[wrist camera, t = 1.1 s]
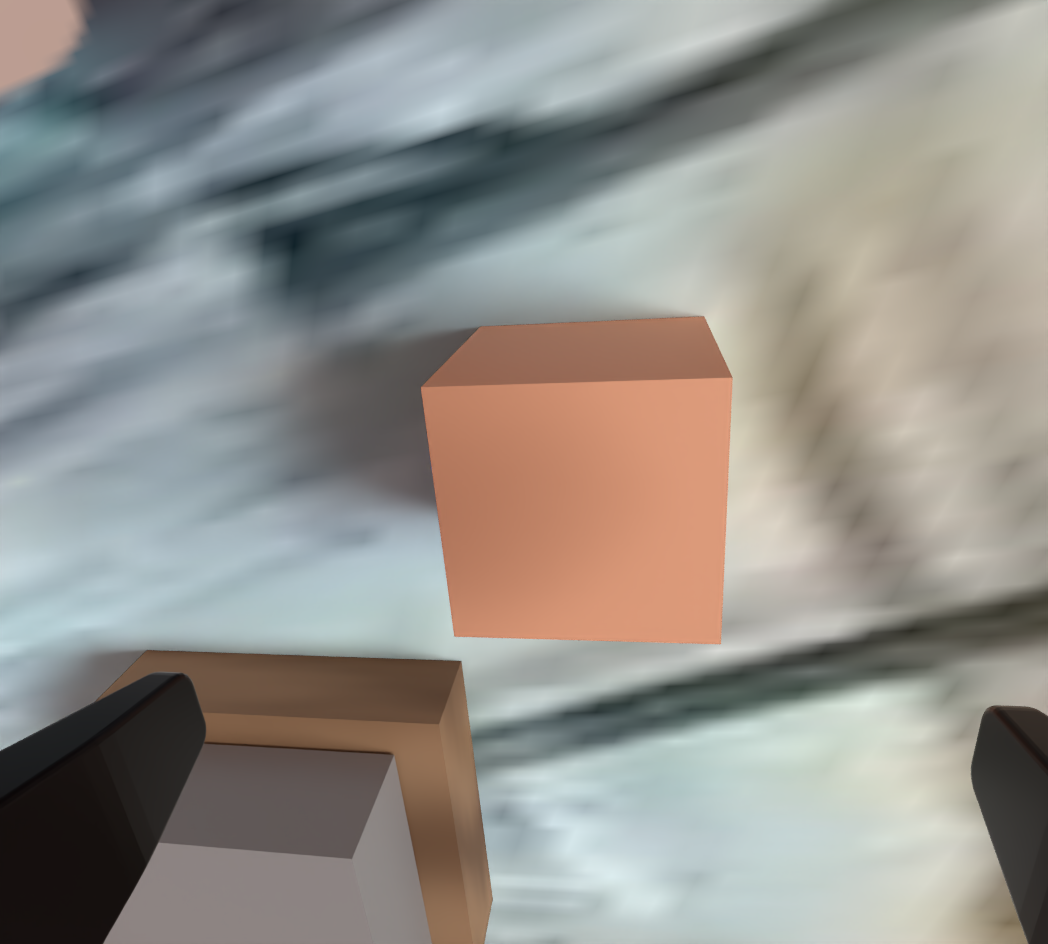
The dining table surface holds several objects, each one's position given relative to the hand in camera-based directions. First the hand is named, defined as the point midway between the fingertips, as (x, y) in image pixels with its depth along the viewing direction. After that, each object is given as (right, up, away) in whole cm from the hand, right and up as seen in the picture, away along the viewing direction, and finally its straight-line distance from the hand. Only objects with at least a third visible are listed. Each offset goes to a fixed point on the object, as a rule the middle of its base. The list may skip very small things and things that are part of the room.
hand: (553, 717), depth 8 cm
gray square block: (-7, -8, +13) cm, 17 cm away
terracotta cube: (+1, +4, +9) cm, 10 cm away
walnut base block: (-7, -7, +15) cm, 18 cm away
